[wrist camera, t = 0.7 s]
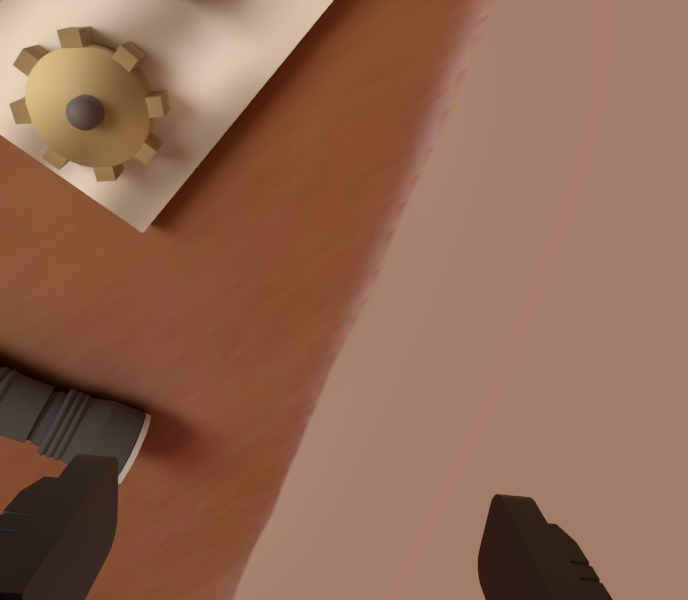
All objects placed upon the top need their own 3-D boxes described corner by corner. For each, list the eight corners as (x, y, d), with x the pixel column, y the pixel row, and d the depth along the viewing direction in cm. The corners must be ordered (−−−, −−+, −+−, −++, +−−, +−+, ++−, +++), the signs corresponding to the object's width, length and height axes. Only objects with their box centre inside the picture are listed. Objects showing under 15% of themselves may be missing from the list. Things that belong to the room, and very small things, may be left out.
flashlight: (-78, 372, 39) (-125, 425, 35) (-57, 317, 37) (-104, 365, 33) (128, 445, 45) (111, 499, 40) (156, 401, 43) (141, 452, 38)
